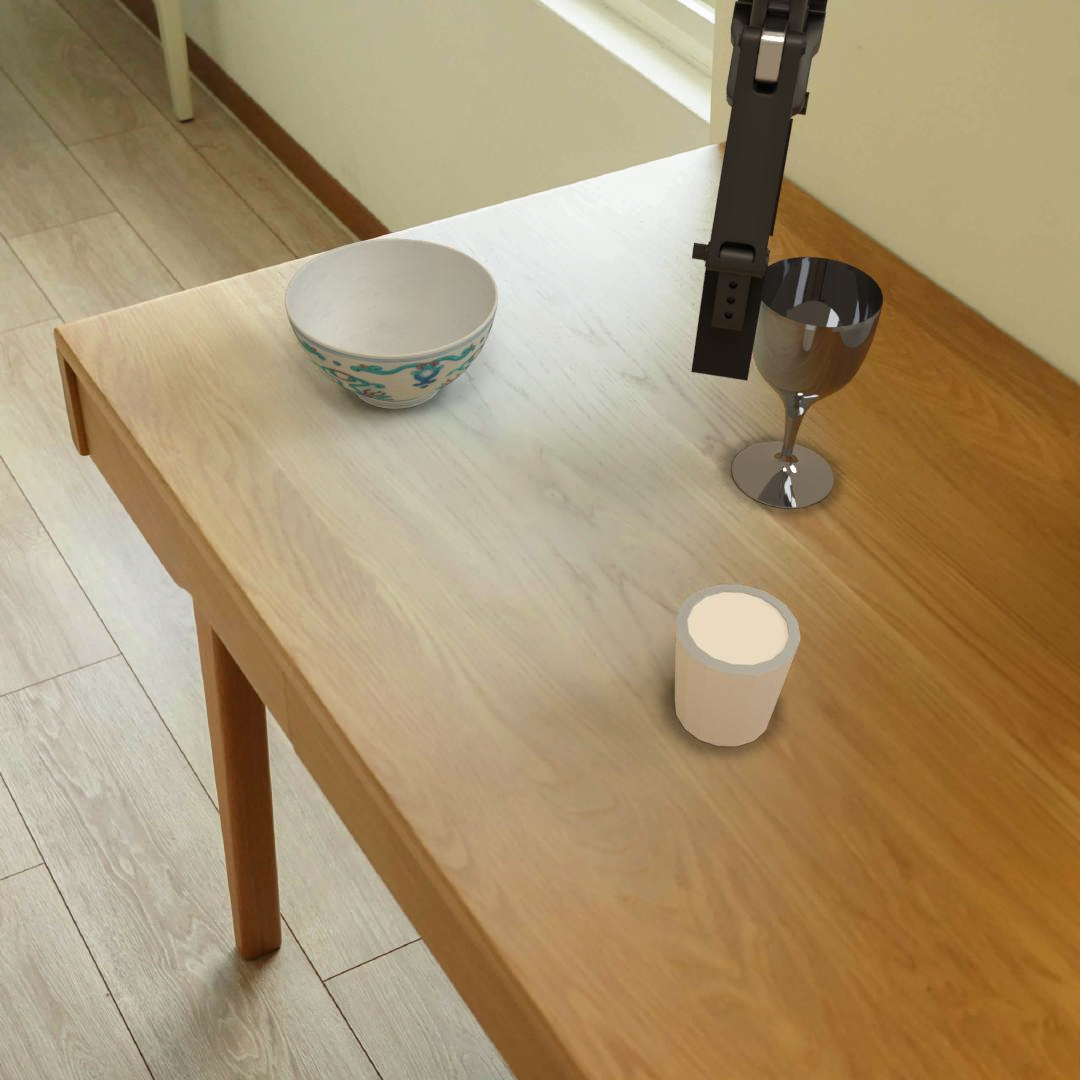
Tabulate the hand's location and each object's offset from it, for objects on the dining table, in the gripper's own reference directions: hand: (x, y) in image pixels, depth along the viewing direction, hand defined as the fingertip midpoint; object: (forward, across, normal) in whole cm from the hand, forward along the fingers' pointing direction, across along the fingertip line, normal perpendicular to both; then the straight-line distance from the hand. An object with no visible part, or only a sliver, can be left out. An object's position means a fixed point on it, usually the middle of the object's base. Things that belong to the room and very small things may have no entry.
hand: (735, 296), depth 70 cm
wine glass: (+23, -14, +5) cm, 27 cm away
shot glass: (+23, +8, +3) cm, 24 cm away
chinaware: (+23, -17, -24) cm, 37 cm away
